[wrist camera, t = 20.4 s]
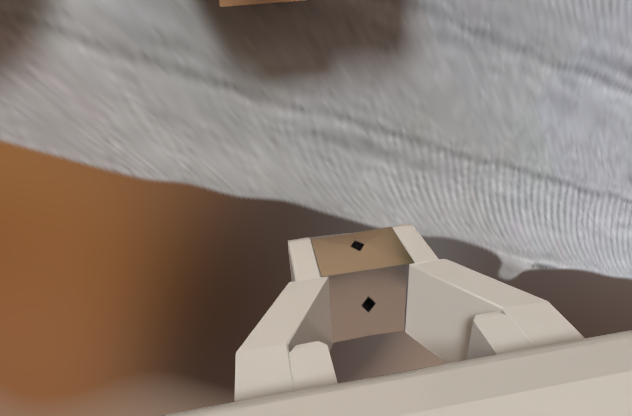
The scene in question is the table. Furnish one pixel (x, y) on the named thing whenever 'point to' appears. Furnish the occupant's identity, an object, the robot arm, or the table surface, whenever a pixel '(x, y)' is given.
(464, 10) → the table surface
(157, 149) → the table surface
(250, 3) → the tray
